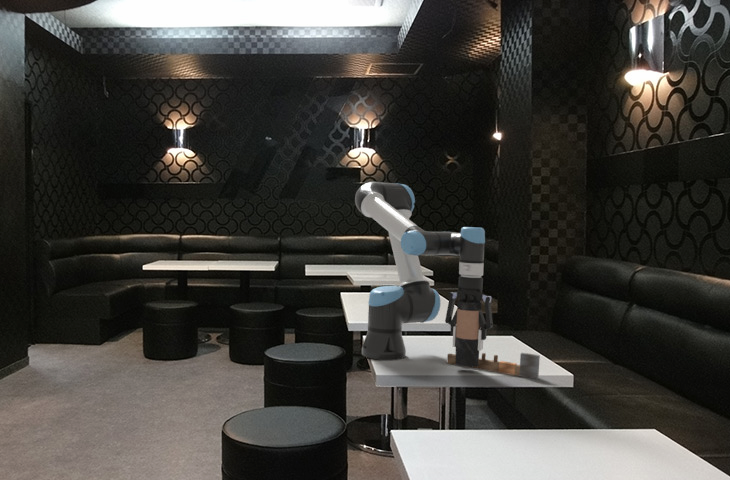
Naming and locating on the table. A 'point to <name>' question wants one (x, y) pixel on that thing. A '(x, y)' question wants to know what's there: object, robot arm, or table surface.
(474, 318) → the travel mug
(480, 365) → the comb rail
